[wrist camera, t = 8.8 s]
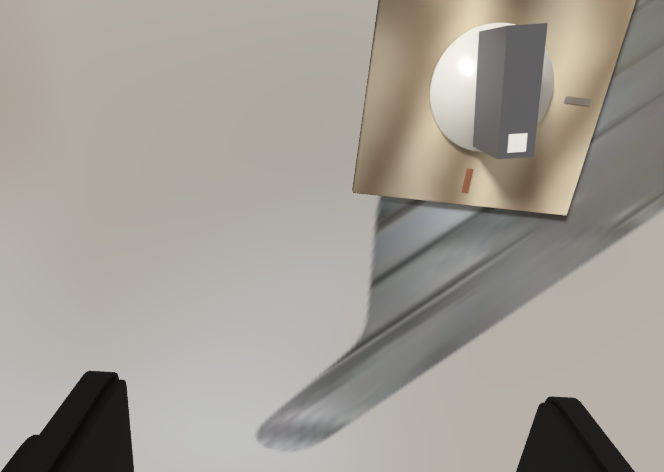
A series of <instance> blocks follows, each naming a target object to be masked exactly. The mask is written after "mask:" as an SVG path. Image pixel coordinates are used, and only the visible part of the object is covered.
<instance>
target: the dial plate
mask: <svg viewBox="0 0 664 472" xmlns="http://www.w3.org/2000/svg"><path fill="white" fill-rule="evenodd" d="M635 3H636V0H379V1H378V9H377V15H376V23H375V31H374V38H373V45H372V52H371V59H370V66H369V74H368V81H367V88H366V95H365V103H364V110H363V117H362V124H361V132H360V139H359V147H358V153H357V160H356V168H355V175H354V182H353V193H360V194H370V195H379V196H388V197H398V198H407V199H416V200H426V201H435V202H444V203H454V204H463V205H473V206H482V207H491V208H501V209H510V210H519V211H529V212H538V213H547V214H557V215H566V216H567V213H568V210H569V207H570V203H571V200H572V197H573V194H574V191H575V188H576V185H577V182H578V179H579V176H580V173H581V169H582V166H583V163H584V160H585V157H586V154H587V151H588V148H589V145H590V142H591V139H592V135H593V132H594V129H595V126H596V123H597V120H598V117H599V114H600V111H601V108H602V105H603V101H604V98H605V95H606V92H607V89H608V86H609V83H610V80H611V77H612V74H613V71H614V67H615V64H616V61H617V58H618V55H619V52H620V49H621V46H622V43H623V40H624V37H625V33H626V30H627V27H628V24H629V21H630V18H631V15H632V12H633V9H634V6H635ZM490 23H511V24H515V25H525V24H540V23H548V25H547V34H546V44H545V48H546V50H547V51H548V53H549V56H550V59H551V61H552V66H553V73H554V84H553V92H552V96H551V100H550V103H549V105H548V108H547V110H546V112H545V114H544V115H543V117H542V119H541V120H540V122H539V123H538V124H537V130H536V140H535V150H534V157H526V158H511V159H496V158H494V157H492V156H490V155H488V154H486V153H484V152H478V151H472V150H468V149H465V148H463V147H461V146H459V145H457V144H455V143H454V142H452V141H451V140H449V139H448V138H447V137H446V136H445V135H444V134H443V133H442V132H441V131H440V129H439V128H438V126H437V125H436V123H435V120H434V118H433V116H432V112H431V109H430V103H429V88H430V82H431V77H432V74H433V71H434V68H435V66H436V64H437V62H438V60H439V58H440V57H441V55H442V54H443V52H444V51H445V50H446V48H447V47H448V46H449V45H450V44H451V43H452V42H453V41H454V40H455V39H457V38H458V37H459V36H460V35H462V34H464V33H465V32H467V31H469V30H471V29H473V28H475V27H478V26H482V25H485V24H490Z"/></svg>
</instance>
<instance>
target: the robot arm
mask: <svg viewBox="0 0 664 472" xmlns="http://www.w3.org/2000/svg"><path fill="white" fill-rule="evenodd" d="M1 472H134V466H133V455H132V443H131V431H130V421H129V409H128V397H127V386H126V382H125V380H119V378H118V375H117V373H115V372H100V371H88V372H86V373H85V374H84V375H83V376H82V378H81V379H80V381H79V382H78V383H77V384H76V386H75V387H74V388H73V390H72V391H71V392H70V394H69V395H68V397H67V398H66V399H65V401H64V402H63V403H62V405H61V406H60V407H59V409H58V410H57V411H56V413H55V414H54V416H53V417H52V418H51V420H50V421H49V422H48V424H47V425H46V426H45V428H44V429H43V431H42V432H41V433H40V435H33V436H31V437H29V438H28V439H27V440H26V441H25V442H24V443H23V444H22V445H21V446H20V447H19V449H18V450H17V451H16V453H15V454H14V455H13V457H12V458H11V459H10V461H9V462H8V463H7V465H6V466H5V467H4V468H3V470H2V471H1ZM516 472H635V471H634V470H633V469H632V468H631V467H630V465H629V464H628V463H627V461H626V460H625V459H624V457H623V456H622V455H621V453H620V452H619V451H618V450H617V448H616V447H615V446H614V444H613V443H612V442H611V441H610V439H609V438H608V437H607V435H606V434H605V433H604V432H603V430H602V429H601V428H600V426H599V425H598V424H597V423H596V422H595V420H594V419H593V418H592V416H591V415H590V414H589V412H588V411H587V410H586V408H585V407H584V406H583V405H582V404H581V402H580V401H579V400H578V399H576V398H568V397H548V398H547V399H546V401H545V403H541V404H540V405H539V407H538V409H537V413H536V415H535V418H534V421H533V424H532V427H531V430H530V433H529V436H528V439H527V441H526V445H525V448H524V450H523V453H522V456H521V459H520V462H519V465H518V468H517V471H516Z"/></svg>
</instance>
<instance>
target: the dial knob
mask: <svg viewBox="0 0 664 472" xmlns="http://www.w3.org/2000/svg"><path fill="white" fill-rule="evenodd" d="M547 25H548V23H540V24H525V25H515V24H511V23H490V24H485V25H482V26H478V27H475V28H473V29H471V30H469V31H467V32H465V33H464V34H462V35H460V36H459V37H458V38H457V39H455V40H454V41H453V42H452V43H451V44H450V45H449V46H448V47H447V48H446V50H445V51H444V52H443V54H442V55H441V57H440V58H439V60H438V62H437V64H436V66H435V68H434V71H433V74H432V77H431V82H430V88H429V103H430V109H431V112H432V116H433V118H434V120H435V123H436V125H437V126H438V128H439V129H440V131H441V132H442V133H443V134H444V135H445V136H446V137H447V138H448V139H449V140H451V141H452V142H454V143H455V144H457V145H459V146H461V147H463V148H465V149H468V150H472V151H478V152H484V153H486V154H488V155H490V156H492V157H494V158H496V159H511V158H526V157H534V150H535V140H536V130H537V124H538V123H539V122H540V120H541V119H542V117H543V115H544V114H545V112H546V110H547V108H548V105H549V103H550V100H551V96H552V92H553V84H554V73H553V66H552V61H551V59H550V56H549V53H548V51H547V50H546V48H545V44H546V34H547Z"/></svg>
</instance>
